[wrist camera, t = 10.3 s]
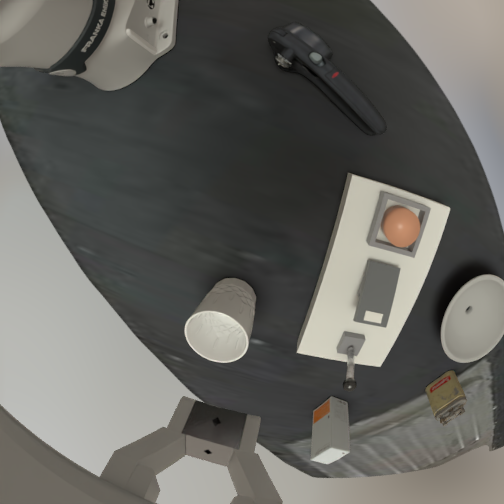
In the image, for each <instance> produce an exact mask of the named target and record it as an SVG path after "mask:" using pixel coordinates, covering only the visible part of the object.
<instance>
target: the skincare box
mask: <svg viewBox="0 0 504 504" xmlns="http://www.w3.org/2000/svg"><path fill="white" fill-rule="evenodd" d="M349 452H350V434H349V417H348V403H347V402H346V401H343V400H341V399H338V398H335V397H333V396H331V397H330V398H329V399H327V400H326V401H325V402H324V403H323V404H322V405H320V406H319V407H318V408H316V409H315V410H314V411H313V428H312V446H311V460H313V461H317V462H321V463H325V464H329V463H331V462H333V461H335V460H338V459H339V458H341V457H342V456H344V455H346V454H347V453H349Z"/></svg>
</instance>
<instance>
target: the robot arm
mask: <svg viewBox="0 0 504 504" xmlns="http://www.w3.org/2000/svg"><path fill="white" fill-rule="evenodd" d="M178 1H179V0H0V67H32V68H34V69H35V70H37V71H39V72H45V73H49V74H53V75H60V76H77V77H80V78H82V79H85V80H87V81H89V82H90V83H92V84H93V85H94V86H96V87H97V88H99V89H102V90H107V91H112V90H117V89H121V88H123V87H125V86H127V85H129V84H131V83H132V82H134V81H135V80H137V79H138V78H139V77H140V76H141V75H142V74H143V73H144V72H145V71H146V70H147V69H148V68H149V67H150V65H151V64H152V63H153V62H154V61H155V60H156V59H157V58H159V57H160V56H162V55H164V54H165V53H167V52H168V51H170V50H171V49H172V48H173V47H174V45H175V41H176V25H177V12H178ZM167 35H168V37H167V38H165V37H166V36H167ZM260 421H261V419H260V417H258V416H253V415H248V414H246V413H241V412H237V411H233V410H228V409H225V408H220V407H216V406H213V405H209V404H206V403H203V402H200V401H197V400H194V399H191V398H188V397H185V396H183V397H182V398H181V400H180V402H179V404H178V406H177V408H176V410H175V412H174V414H173V416H172V418H171V420H170V422H169V425H168V427H167V428H165V427H162V428H160V429H158V430H157V431H155V432H153V433H151V434H149V435H147V436H145V437H143V438H141V439H139V440H137V441H135V442H133V443H131V444H129V445H127V446H125V447H122V448H120V449H118V450H116V451H114V453H113V455H112V457H111V458H110V460H109V462H108V463H107V465H106V467H105V469H104V470H103V472H102V474H101V476H100V477H98V476H96V475H95V474H93V473H91V472H89V471H87V470H86V469H84V468H83V467H81V466H79V465H78V464H76V463H74V462H73V461H71V460H70V459H68V458H67V457H65V456H63V455H62V454H61V453H59V452H58V451H56V450H55V449H53V448H52V447H51V446H49V445H48V444H46V443H45V442H44V441H42V440H41V439H40V438H38V437H37V436H36V435H35V434H33V433H32V432H31V431H30V430H28V429H27V428H26V427H25V426H24V425H22V424H21V423H20V422H19V421H18V420H16V419H15V418H14V417H13V416H12V415H11V414H10V413H9V412H8V411H6V410H5V409H4V408H3V407H2V406H1V405H0V504H157V503H155V502H156V500H157V497H158V495H159V492H160V488H159V485H158V482H157V479H156V475H157V474H158V473H160V472H161V471H163V470H164V469H166V468H168V467H169V466H171V465H172V464H174V463H175V462H177V461H178V460H179V459H181V458H182V457H184V456H185V455H188V456H192V457H196V458H199V459H202V460H207V461H209V462H213V463H216V464H220V465H223V466H227V467H228V470H229V473H230V476H231V479H232V481H233V484H234V486H235V489H236V492H237V494H238V496H236V497H234V499H233V500H232V502H231V503H230V504H282V499H281V498H280V496H279V494H278V492H277V490H276V489H275V487H274V485H273V483H272V481H271V479H270V477H269V475H268V473H267V471H266V469H265V467H264V465H263V464H262V461H261V460H260V457H259V455H258V454H256V453H254V450H255V446H256V441H257V436H258V431H259V426H260Z"/></svg>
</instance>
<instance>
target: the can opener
mask: <svg viewBox="0 0 504 504" xmlns="http://www.w3.org/2000/svg"><path fill="white" fill-rule="evenodd" d="M268 40H269V43H270V46H271V47H272V49H273V50H274V58H275V61H276V63H277V65H278V66H279V67H280V68H281V69H283V70H285V71H289V72H297V73H300V74H302V75H304V76H305V77H307V78H308V79H309V80H311V81H312V82H313V83H314V84H315V85H317V86H318V87H319V88H320V89H321V90H322V91H323V92H324V93H325V94H326V95H327V96H328V97H329V98H330V99H331V100H332V101H333V102H334V103H335V104H336V105H337V106H338V107H339V108H340V109H341V110H342V111H343V112H344V113H345V114H346V115H347V116H348V117H349V118H350V119H351V120H352V121H353V122H354V123H355V124H356V125H357V126H358V127H359V128H360V129H361V130H363V131H364V132H365V133H366V134H368V135H375V134H376V133H377V134H383V133H385V131H386V128H387V126H386V122H385V120H384V119H383V117H382V116H381V115H380V113H379V112H378V111H377V109H376V108H375V107H374V105H373V104H372V103H371V102H370V100H369V99H368V98H367V97H366V96H365V95H364V94H363V92H362V91H361V90H360V89H359V88H358V87H357V86H356V85H355V84H354V83H353V82H352V81H351V80H350V79H349V78H348V77H347V76H346V75H345V74H344V73H343V72H342V71H341V70H339V69H338V68H337V67H336V66H335V65H334V64H333V63H331V62H330V61H329V59H330V57H331V56H332V51H331V49H330V48H329V46H328V45H327V44H326V43H325V42H324V41H323V39H321V38H320V37H319V36H318V35H317V34H316V33H314V32H313V31H312V30H310V29H309V28H307V27H305V26H303V25H301V24H299V23H296V22H292V23H290V24H288V25H286V26H284V27H278V28H275V29H273V30H272V31H271V32H270V33H269V35H268Z"/></svg>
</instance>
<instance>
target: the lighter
mask: <svg viewBox="0 0 504 504" xmlns="http://www.w3.org/2000/svg"><path fill="white" fill-rule="evenodd" d="M425 391H426V393H427V396H428V399H429V402H430V405H431V408H432V411H433V414H434V416H435V419H436V420H437V421H440V423H443V426H446V425H447V423H448V422H450V421H451V420H453V419H454V418H456V417H457V416H459V415H461V414H463V413H464V412H465V410H464V408H463V406H464V405H465V404H466V402H467V399H466V397H465V394H464V392H463V390H462V387H461V385H460V383H459V381H458V379H457V377H456V375H455V372H454V371H448V372H446V373H445V374H443V375H442V376H441V377H439V378H438V379H436V380H435V381H434V382H432V383H431V384H429V385H428V386H427V387H426V389H425ZM459 412H460V413H459ZM458 413H459V414H458ZM456 414H458V415H457V416H456ZM449 419H451V420H449ZM447 420H449V421H447ZM446 421H447V422H446Z"/></svg>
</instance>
